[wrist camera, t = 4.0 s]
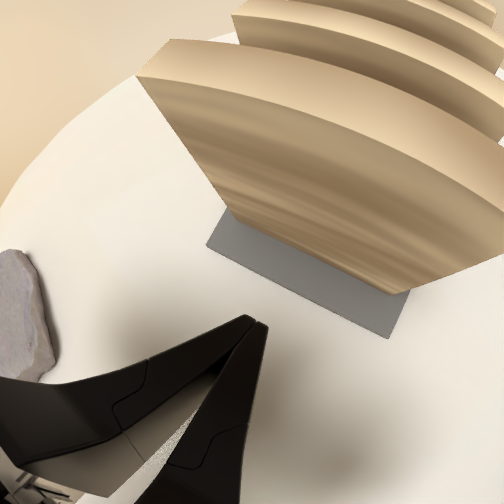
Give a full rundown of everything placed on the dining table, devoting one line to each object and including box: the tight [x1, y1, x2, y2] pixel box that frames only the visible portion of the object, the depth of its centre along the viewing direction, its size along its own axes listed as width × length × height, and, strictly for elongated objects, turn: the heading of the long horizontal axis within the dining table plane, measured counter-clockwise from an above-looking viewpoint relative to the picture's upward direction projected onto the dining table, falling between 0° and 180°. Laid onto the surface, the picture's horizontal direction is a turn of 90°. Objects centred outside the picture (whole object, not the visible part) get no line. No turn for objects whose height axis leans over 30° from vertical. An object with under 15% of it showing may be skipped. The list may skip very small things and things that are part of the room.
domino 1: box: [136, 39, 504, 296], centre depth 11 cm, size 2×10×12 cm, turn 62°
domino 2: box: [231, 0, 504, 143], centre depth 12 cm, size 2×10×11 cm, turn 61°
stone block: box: [0, 249, 56, 383], centre depth 19 cm, size 12×5×10 cm
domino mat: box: [206, 207, 411, 339], centre depth 18 cm, size 22×12×1 cm, turn 151°
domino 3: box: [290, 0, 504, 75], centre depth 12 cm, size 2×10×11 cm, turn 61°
